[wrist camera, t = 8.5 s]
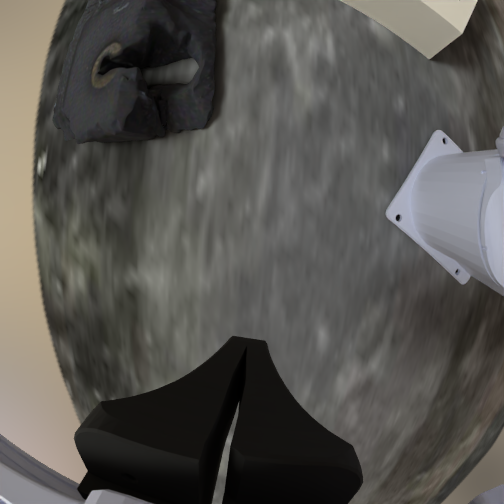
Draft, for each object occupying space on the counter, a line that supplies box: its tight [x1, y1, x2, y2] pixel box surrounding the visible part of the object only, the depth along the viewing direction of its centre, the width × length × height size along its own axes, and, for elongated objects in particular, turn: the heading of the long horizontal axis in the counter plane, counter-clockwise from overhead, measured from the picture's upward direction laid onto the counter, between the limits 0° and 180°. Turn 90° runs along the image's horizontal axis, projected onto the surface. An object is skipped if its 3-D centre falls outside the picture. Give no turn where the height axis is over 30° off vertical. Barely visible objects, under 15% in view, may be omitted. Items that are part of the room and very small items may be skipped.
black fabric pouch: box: [53, 0, 217, 144], centre depth 15 cm, size 15×22×5 cm
